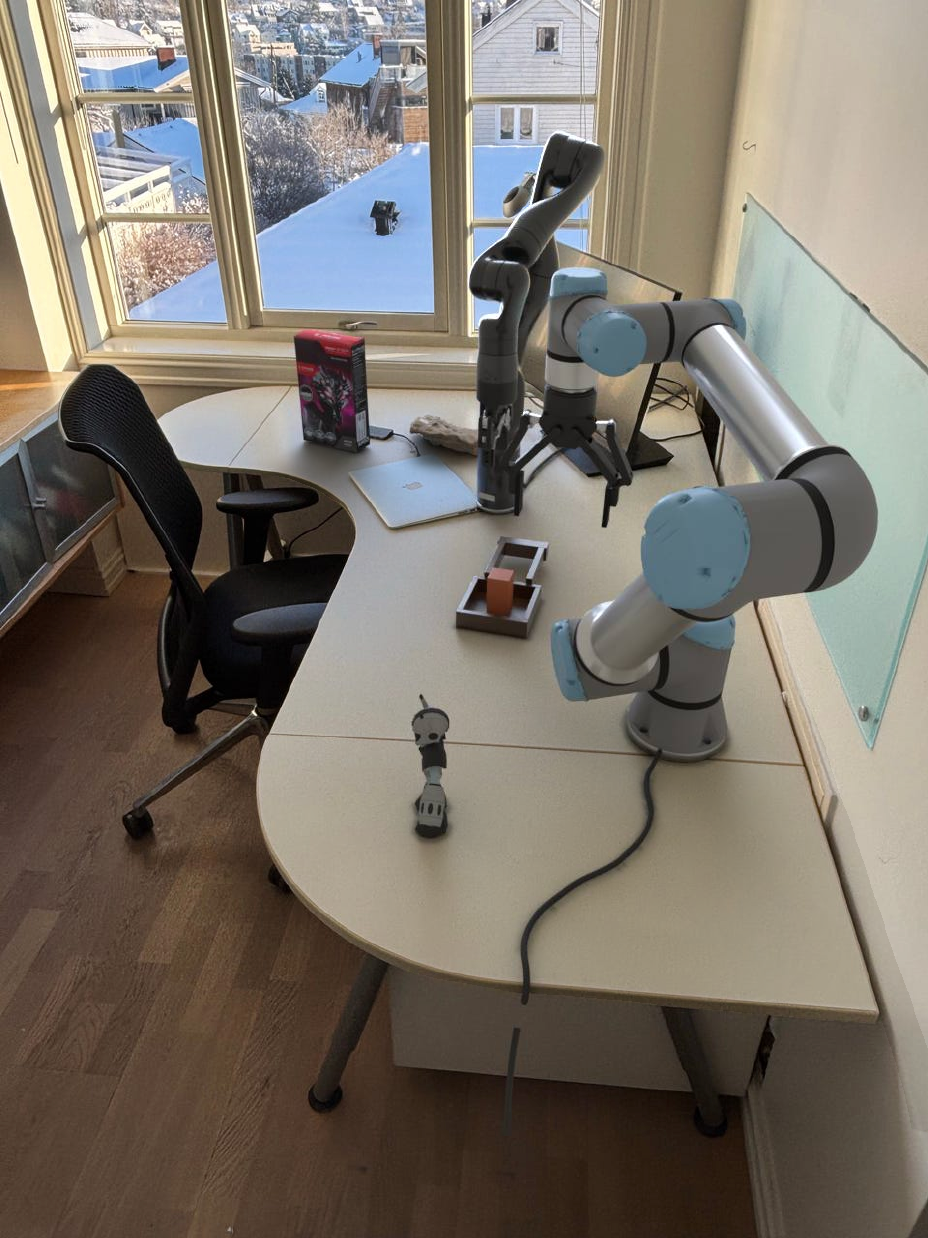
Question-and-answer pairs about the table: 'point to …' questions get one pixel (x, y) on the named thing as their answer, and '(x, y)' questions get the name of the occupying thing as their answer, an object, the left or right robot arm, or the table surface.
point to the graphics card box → (333, 389)
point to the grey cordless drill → (431, 769)
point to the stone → (446, 434)
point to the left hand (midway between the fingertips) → (495, 457)
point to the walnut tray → (524, 594)
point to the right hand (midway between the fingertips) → (561, 518)
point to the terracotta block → (500, 591)
